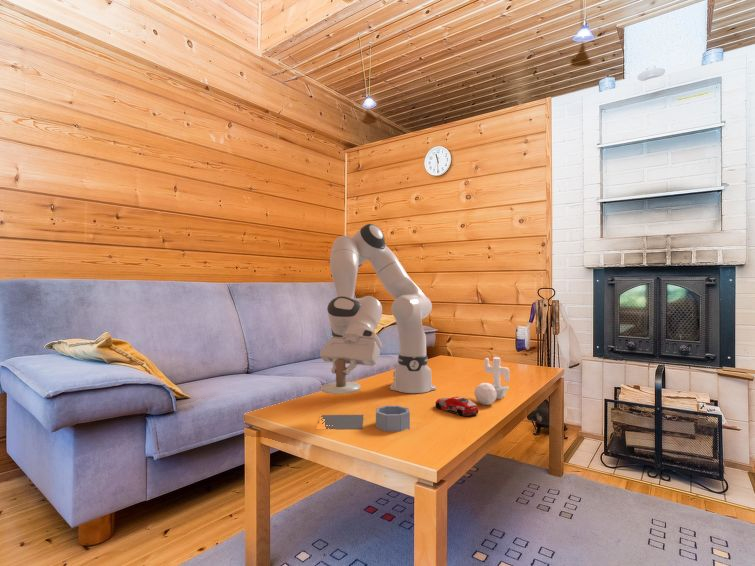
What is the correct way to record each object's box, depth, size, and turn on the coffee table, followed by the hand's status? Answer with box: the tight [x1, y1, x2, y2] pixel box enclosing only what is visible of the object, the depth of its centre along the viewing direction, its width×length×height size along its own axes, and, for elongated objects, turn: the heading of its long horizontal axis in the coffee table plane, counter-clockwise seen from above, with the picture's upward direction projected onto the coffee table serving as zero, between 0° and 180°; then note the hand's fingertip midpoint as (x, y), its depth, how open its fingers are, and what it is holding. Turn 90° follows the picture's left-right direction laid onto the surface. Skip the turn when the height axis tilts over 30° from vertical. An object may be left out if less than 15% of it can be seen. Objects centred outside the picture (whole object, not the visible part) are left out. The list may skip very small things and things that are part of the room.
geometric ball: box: [473, 382, 497, 406], centre depth 154 cm, size 8×8×8 cm
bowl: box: [375, 405, 411, 432], centre depth 129 cm, size 10×10×5 cm
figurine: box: [483, 356, 510, 400], centre depth 164 cm, size 7×9×15 cm
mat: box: [321, 414, 364, 430], centre depth 133 cm, size 14×14×1 cm
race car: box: [435, 396, 479, 417], centre depth 146 cm, size 16×7×5 cm, turn 37°
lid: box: [320, 359, 361, 395], centre depth 132 cm, size 12×12×9 cm
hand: (339, 373), depth 132 cm, fingers closed on lid, 3 cm apart
